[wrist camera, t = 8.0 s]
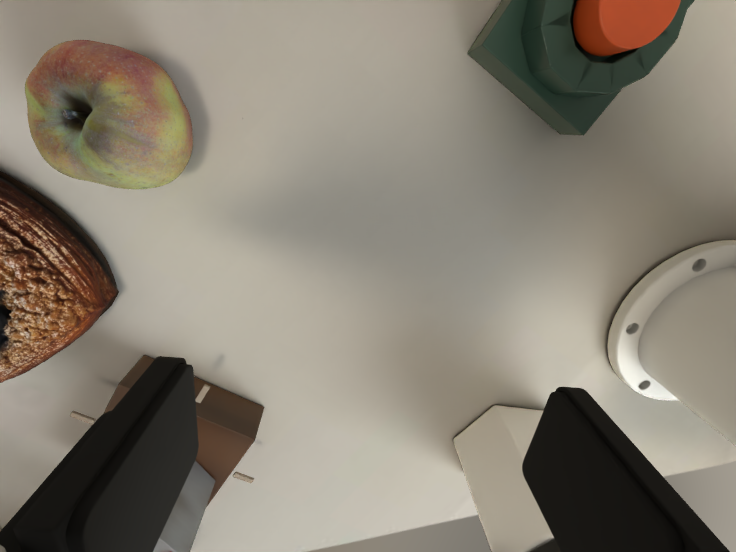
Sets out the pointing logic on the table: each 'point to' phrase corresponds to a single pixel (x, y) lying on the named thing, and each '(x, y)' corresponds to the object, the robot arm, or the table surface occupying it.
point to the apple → (108, 116)
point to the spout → (186, 512)
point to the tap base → (208, 424)
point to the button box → (561, 61)
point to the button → (620, 23)
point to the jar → (504, 479)
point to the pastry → (45, 279)
